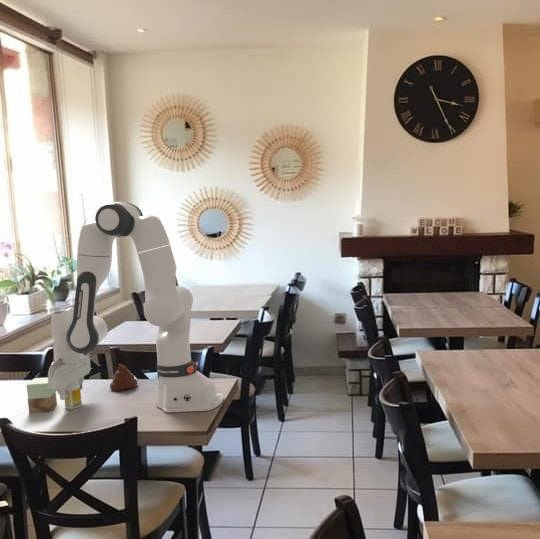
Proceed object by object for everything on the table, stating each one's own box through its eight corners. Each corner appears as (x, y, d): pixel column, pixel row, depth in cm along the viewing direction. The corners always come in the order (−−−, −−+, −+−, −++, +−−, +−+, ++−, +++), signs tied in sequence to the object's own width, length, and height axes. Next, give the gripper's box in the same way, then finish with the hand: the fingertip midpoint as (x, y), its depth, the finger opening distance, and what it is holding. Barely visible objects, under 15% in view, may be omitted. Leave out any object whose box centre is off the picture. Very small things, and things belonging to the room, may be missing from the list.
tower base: (57, 404, 201) (55, 390, 201) (50, 412, 195) (48, 397, 194) (36, 406, 201) (35, 392, 201) (29, 413, 194) (27, 399, 194)
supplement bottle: (63, 409, 195) (60, 382, 194) (67, 404, 201) (64, 377, 200) (80, 408, 196) (77, 381, 195) (83, 403, 201) (80, 376, 200)
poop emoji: (112, 393, 210) (109, 368, 209) (108, 387, 218) (106, 363, 216) (139, 388, 214) (137, 363, 213) (135, 382, 222) (133, 358, 220)
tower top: (55, 390, 201) (54, 376, 200) (49, 397, 194) (47, 383, 193) (35, 392, 201) (33, 378, 200) (28, 399, 194) (26, 384, 193)
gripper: (57, 364, 185) (62, 405, 187) (92, 347, 205) (95, 385, 207) (40, 364, 187) (45, 405, 189) (76, 347, 207) (79, 384, 208)
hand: (71, 394), depth 198 cm, fingers open, 8 cm apart
